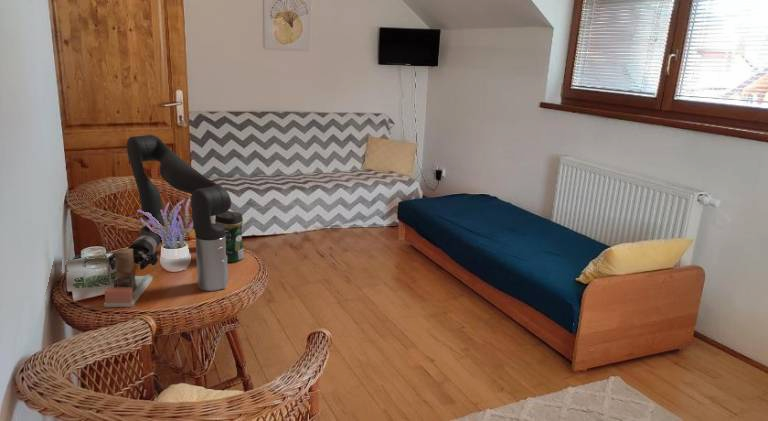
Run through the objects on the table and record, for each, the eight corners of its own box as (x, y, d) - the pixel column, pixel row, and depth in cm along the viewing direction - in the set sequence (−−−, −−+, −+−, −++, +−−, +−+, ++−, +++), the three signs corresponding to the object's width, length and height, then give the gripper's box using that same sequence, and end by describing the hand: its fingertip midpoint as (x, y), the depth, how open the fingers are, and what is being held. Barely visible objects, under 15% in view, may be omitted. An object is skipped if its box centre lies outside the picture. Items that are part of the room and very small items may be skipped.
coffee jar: (212, 260, 204) (210, 211, 199) (226, 253, 211) (224, 207, 206) (234, 264, 201) (232, 215, 196) (247, 258, 208) (246, 210, 203)
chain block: (137, 287, 174) (133, 248, 171) (129, 297, 167) (126, 256, 164) (122, 287, 174) (119, 248, 170) (114, 297, 167) (110, 256, 163)
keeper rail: (152, 279, 184) (151, 265, 183) (132, 306, 164) (131, 291, 163) (127, 279, 183) (126, 265, 182) (104, 306, 163) (102, 291, 162)
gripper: (119, 238, 184) (101, 255, 169) (163, 238, 186) (150, 255, 171) (121, 259, 186) (103, 278, 171) (164, 259, 188) (151, 277, 173)
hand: (126, 266), depth 171 cm, fingers open, 8 cm apart
